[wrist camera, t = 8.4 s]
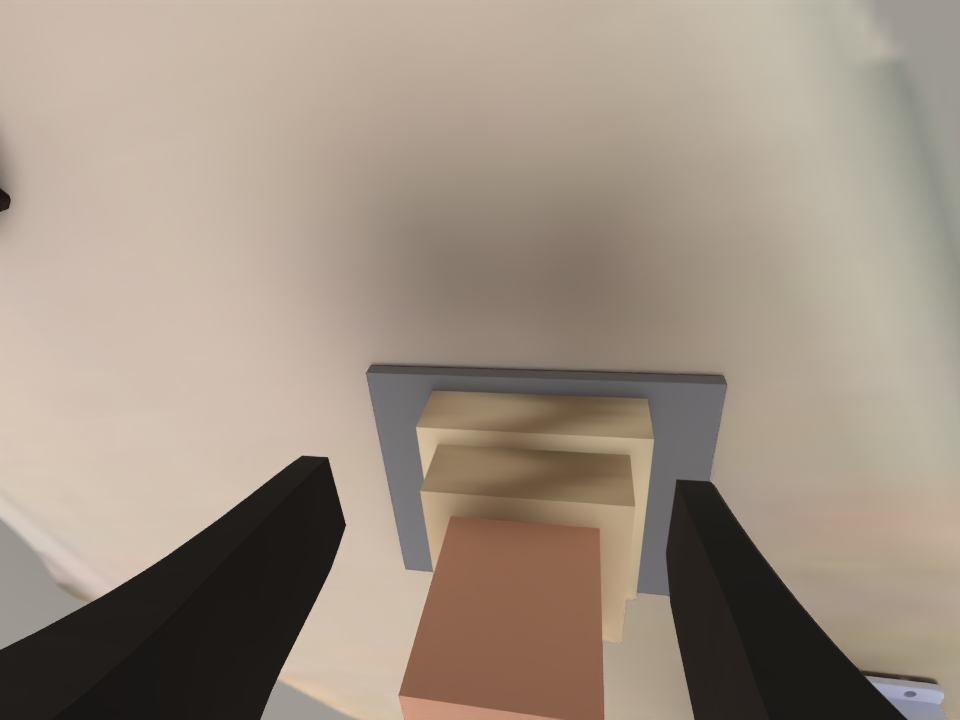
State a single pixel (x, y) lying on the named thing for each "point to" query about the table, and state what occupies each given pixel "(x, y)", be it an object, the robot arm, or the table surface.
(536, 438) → the oak slab base
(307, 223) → the table surface
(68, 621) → the robot arm
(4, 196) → the mate gourd
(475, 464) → the oak slab top
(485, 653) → the terracotta block
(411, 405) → the mat
